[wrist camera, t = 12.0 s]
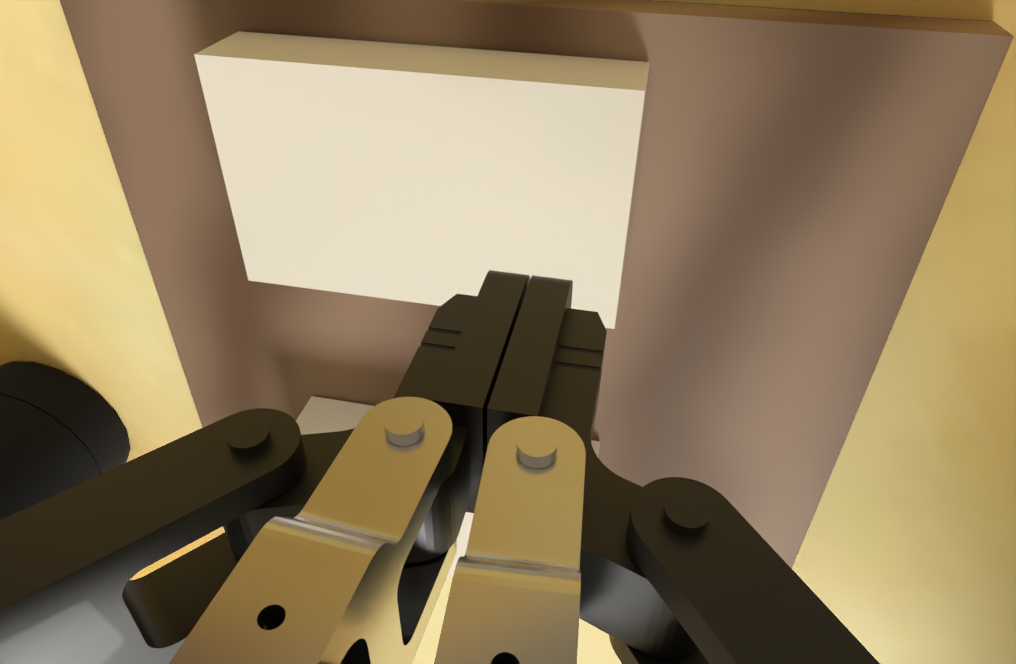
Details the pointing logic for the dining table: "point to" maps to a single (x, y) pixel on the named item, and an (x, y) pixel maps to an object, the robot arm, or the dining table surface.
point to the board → (652, 226)
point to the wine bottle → (52, 435)
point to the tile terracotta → (425, 164)
